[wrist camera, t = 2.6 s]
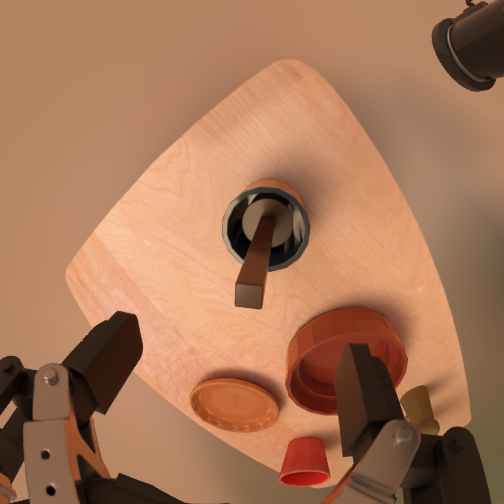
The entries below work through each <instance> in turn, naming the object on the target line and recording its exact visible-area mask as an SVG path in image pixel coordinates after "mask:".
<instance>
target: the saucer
mask: <svg viewBox="0 0 504 504" xmlns="http://www.w3.org/2000/svg"><path fill="white" fill-rule="evenodd" d="M189 403H190V406H191V408H192V410H193V412H194V413H195V414H196V415H197V416H198V417H199V418H200V419H202V420H203V421H205V422H206V423H208V424H210V425H212V426H214V427H217V428H220V429H223V430H227V431H232V432H255V431H260V430H263V429H266V428H268V427H270V426H271V425H273V424H274V423H275V422H276V420H277V419H278V416H279V406H278V403H277V401H276V400H275V398H274V397H273V396H272V395H271V394H270V393H269V392H267V391H266V390H265V389H263V388H261V387H260V386H258V385H256V384H253V383H251V382H248V381H245V380H241V379H235V378H219V379H212V380H208V381H205V382H203V383H200V384H199V385H197V386H196V387H195V388H194V389H193V391H192V392H191V394H190V397H189Z"/></svg>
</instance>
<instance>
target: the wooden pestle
mask: <svg viewBox="0 0 504 504" xmlns="http://www.w3.org/2000/svg"><path fill="white" fill-rule="evenodd" d="M242 228H243V231H244V233H245V235H246V237H247V238H248V239H249V240H250V241H251V244H250V246H249V249H248V252H247V254H246V257H245V260H244V262H243V265H242V268H241V270H240V273H239V275H238V278H237V281H236V283H235V306H236V307H244V308H253V309H262V305H263V299H264V293H265V287H266V280H267V274H268V268H269V261H270V255H271V248H273V247H277V246H279V245H281V244H283V243H284V242H285V241H286V240H287V239H288V238H289V236H290V235H291V233H292V230H293V216H292V208H291V205H290V203H289V201H288V200H287V199H286V198H284V197H282V196H280V195H278V194H275V193H264V192H263V193H260V194H259V195H257V196H256V197H255V198H254V199H253V200H252V201H251V203H250V204H249V206H248V207H247V209H246V210H245V212H244V214H243V218H242Z"/></svg>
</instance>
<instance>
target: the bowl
mask: <svg viewBox="0 0 504 504" xmlns="http://www.w3.org/2000/svg"><path fill="white" fill-rule="evenodd" d="M348 342H351V343H367V344H368V346H369V349H370V352H371V355H372V356H378V357H379V358H380V359H381V360H382V361H383V362H384V363H385V365H386V366H387V368H388V371H389V374H390V378H391V379H392V382H393V387H394V388H395V389H396V388H397V387H398V386H399V384H400V382H401V380H402V379H403V377H404V375H405V373H406V369H407V363H408V358H407V355H406V352H405V348H404V346H403V344H402V342H401V340H400V338H399V336H398V334H397V332H396V330H395V328H394V326H393V324H392V323H391V322H390V321H389V320H388V319H387V318H386V317H385V316H384V315H382V314H380V313H377V312H375V311H372V310H370V309H362V308H345V309H340V310H335V311H330V312H328V313H326V314H324V315H321V316H319V317H317V318H315V319H313V320H311V321H310V322H309V323H308V324H306V325H305V326H304V327H303V328H302V329H300V330H299V331H298V332H297V333H296V335H295V337H294V338H293V340H292V341H291V343H290V344H289V347H288V352H287V357H286V380H285V385H286V389H287V392H288V396H289V397H290V398H291V399H292V400H293V402H294V403H295V404H296V405H297V406H299V407H301V408H303V409H304V410H306V411H308V412H311V413H316V414H320V415H338V409H337V401H336V394H335V387H334V380H335V373H336V370H337V367H338V364H339V362H340V359H341V356H342V353H343V350H344V347H345V345H346V343H348Z"/></svg>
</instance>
